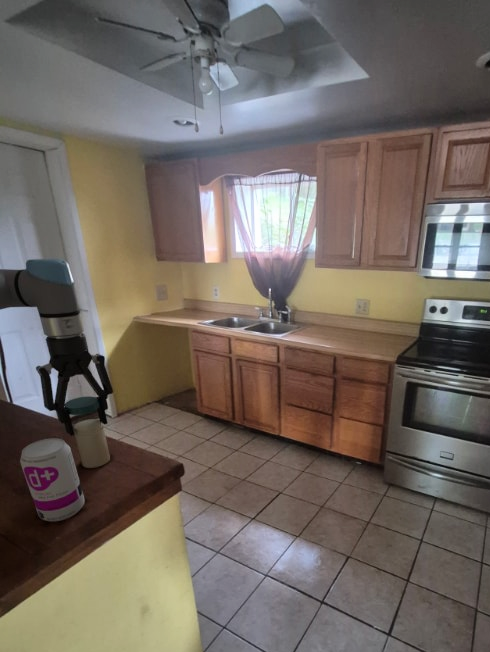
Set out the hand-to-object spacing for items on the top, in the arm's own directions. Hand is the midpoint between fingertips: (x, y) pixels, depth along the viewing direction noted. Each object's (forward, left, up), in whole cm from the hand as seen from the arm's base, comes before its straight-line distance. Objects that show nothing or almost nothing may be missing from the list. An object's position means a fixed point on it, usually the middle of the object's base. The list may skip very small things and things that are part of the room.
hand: (87, 427), depth 90 cm
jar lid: (0, 0, +6) cm, 6 cm away
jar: (0, 0, -9) cm, 9 cm away
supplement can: (+5, -18, -10) cm, 21 cm away
